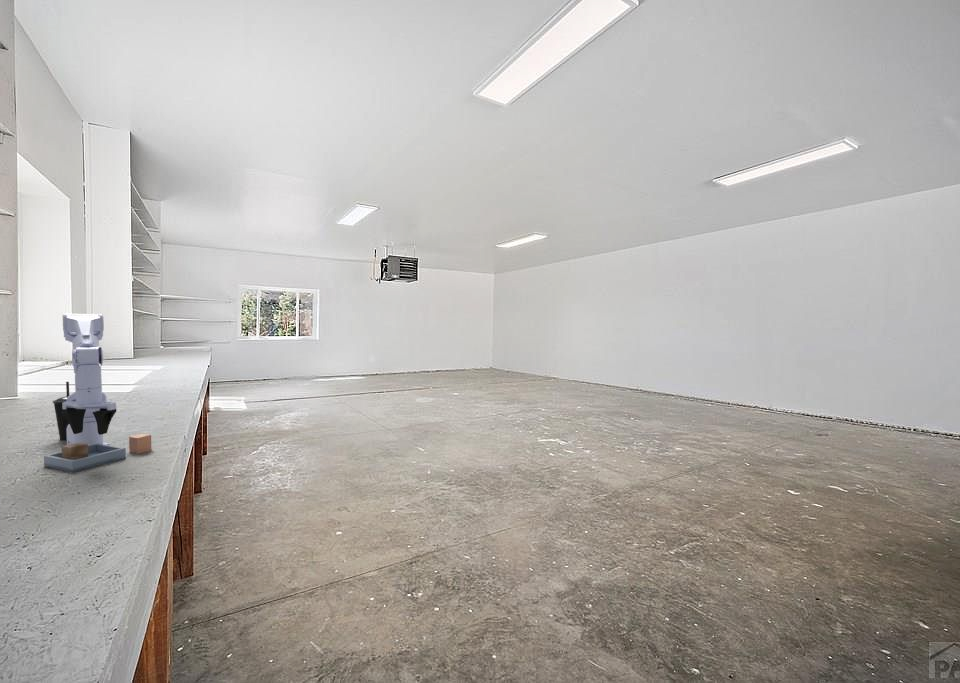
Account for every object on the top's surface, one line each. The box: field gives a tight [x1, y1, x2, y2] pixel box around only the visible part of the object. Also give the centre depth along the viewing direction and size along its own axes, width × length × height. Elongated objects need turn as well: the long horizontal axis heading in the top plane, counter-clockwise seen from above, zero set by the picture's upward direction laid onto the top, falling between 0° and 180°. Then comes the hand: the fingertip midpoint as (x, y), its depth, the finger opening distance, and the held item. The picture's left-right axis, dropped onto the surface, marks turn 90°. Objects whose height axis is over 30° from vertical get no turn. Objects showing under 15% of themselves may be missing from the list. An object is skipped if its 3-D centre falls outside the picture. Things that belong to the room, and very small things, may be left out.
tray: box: [43, 444, 127, 473], centre depth 124 cm, size 13×13×3 cm
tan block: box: [61, 442, 88, 460], centre depth 122 cm, size 4×4×5 cm
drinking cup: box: [52, 381, 70, 441], centre depth 147 cm, size 8×8×20 cm
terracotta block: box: [128, 433, 152, 454], centre depth 135 cm, size 4×4×5 cm
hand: (90, 433), depth 124 cm, fingers open, 7 cm apart
